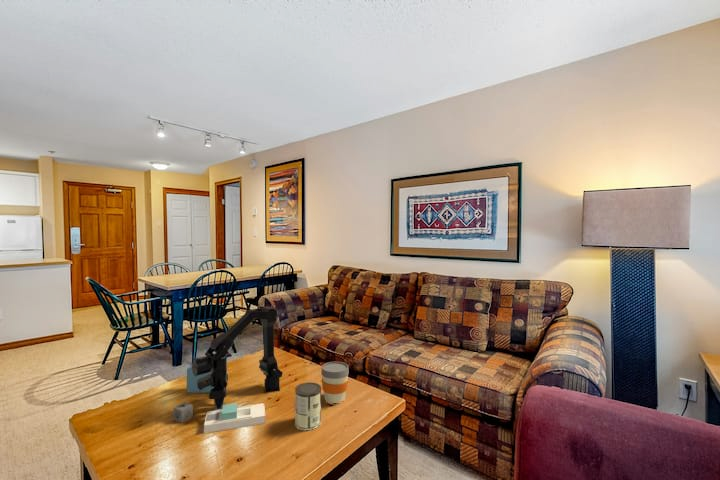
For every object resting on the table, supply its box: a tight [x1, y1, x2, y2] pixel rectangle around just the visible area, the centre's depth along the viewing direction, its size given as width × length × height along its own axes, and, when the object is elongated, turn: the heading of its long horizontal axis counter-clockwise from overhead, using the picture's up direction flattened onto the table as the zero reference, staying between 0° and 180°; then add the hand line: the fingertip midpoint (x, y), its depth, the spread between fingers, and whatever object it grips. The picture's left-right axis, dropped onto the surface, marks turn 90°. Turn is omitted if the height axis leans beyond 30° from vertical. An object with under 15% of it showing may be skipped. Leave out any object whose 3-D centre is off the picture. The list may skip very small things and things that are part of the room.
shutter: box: [222, 402, 238, 420], centre depth 130 cm, size 6×7×2 cm
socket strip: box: [203, 403, 266, 434], centre depth 131 cm, size 22×10×3 cm, turn 109°
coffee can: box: [294, 382, 322, 431], centre depth 130 cm, size 10×10×14 cm
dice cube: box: [172, 401, 194, 424], centre depth 132 cm, size 5×5×5 cm
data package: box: [186, 363, 213, 394], centre depth 156 cm, size 12×4×12 cm, turn 93°
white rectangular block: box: [213, 399, 225, 411], centre depth 140 cm, size 4×4×6 cm
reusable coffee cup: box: [321, 361, 350, 403], centre depth 149 cm, size 13×12×15 cm
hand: (219, 405), depth 140 cm, fingers open, 6 cm apart
